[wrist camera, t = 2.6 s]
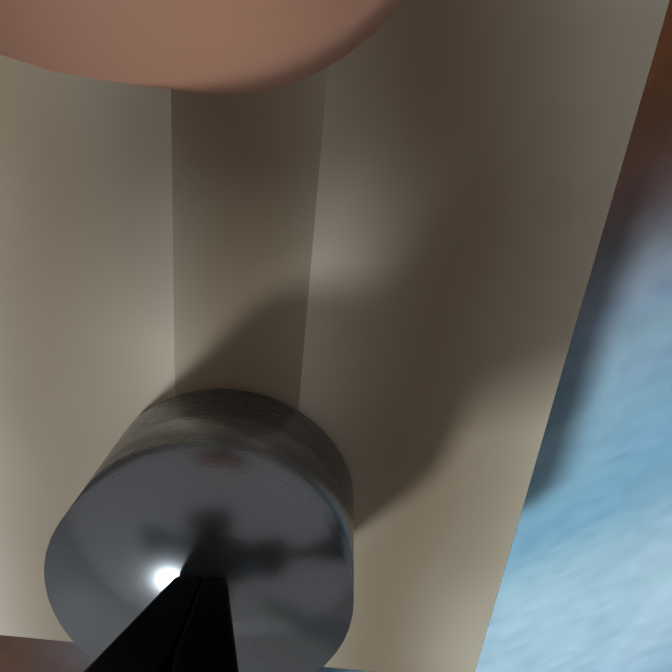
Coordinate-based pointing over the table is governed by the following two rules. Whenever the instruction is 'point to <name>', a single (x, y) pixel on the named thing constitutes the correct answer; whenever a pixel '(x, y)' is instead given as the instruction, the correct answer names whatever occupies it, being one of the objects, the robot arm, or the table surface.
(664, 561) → the table surface
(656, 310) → the table surface
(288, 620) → the metal plunger
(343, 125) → the plunger block
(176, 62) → the pink mushroom knob
